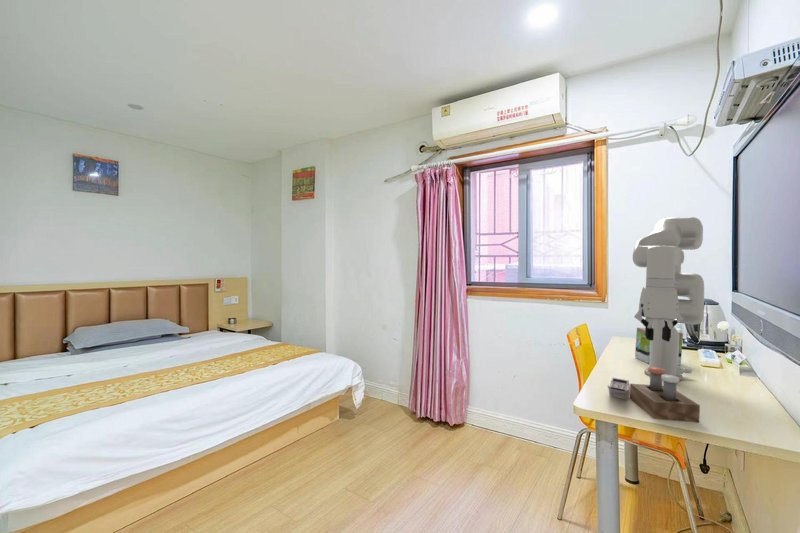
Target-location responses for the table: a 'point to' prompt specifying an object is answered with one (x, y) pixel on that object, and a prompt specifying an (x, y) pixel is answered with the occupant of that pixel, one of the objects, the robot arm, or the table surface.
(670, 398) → the white light bulb
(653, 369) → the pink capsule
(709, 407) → the table surface
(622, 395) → the mobile phone
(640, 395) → the block
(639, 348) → the tea box
